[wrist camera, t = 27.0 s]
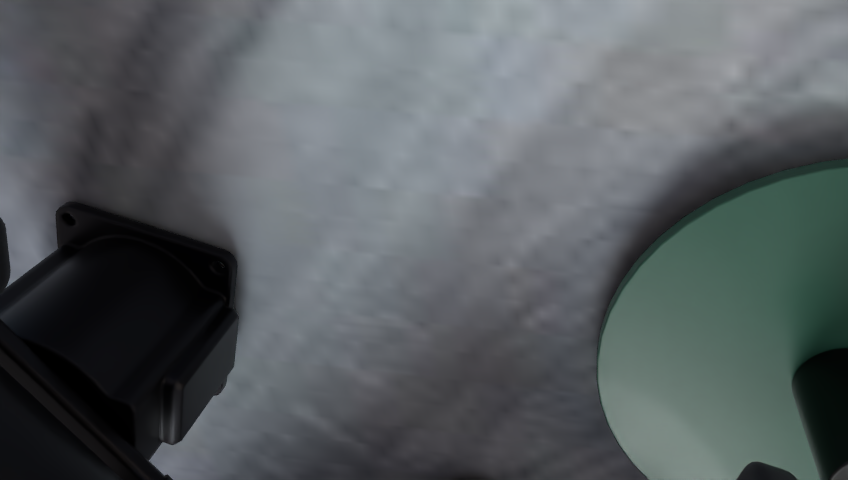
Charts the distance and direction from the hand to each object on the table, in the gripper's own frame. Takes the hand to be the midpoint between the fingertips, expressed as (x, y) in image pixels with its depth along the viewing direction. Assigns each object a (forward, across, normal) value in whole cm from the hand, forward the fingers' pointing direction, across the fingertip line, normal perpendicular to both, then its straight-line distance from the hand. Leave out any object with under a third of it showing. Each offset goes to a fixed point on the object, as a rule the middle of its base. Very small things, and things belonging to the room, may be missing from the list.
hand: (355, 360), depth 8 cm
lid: (+12, -12, +6) cm, 18 cm away
